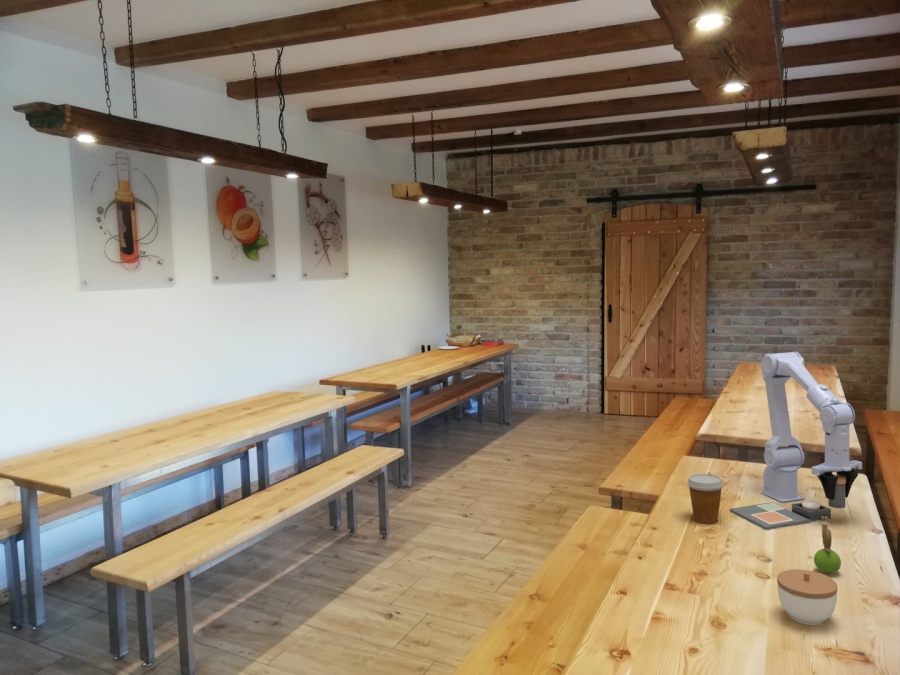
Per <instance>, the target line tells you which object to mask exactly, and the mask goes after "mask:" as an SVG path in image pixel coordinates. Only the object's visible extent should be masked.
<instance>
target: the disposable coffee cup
mask: <svg viewBox="0 0 900 675" xmlns="http://www.w3.org/2000/svg"><path fill="white" fill-rule="evenodd" d="M686 482H687V483H686V484H687V486H688V489H689V495H690V501H691V509H692V514H693V521H695V522H697V523H698V524H705V525H713V524H716V523H717V522H718V520H719V514H720V505H721V497H722V495H721V494H722V489H723V486H724V482H723V480H722V478H721V477H720V476H718V475H714V474H710V473H708V474H707V473H697V474H692V475H690V476H688V478H687V481H686Z"/></svg>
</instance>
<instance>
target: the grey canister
mask: <svg viewBox="0 0 900 675" xmlns="http://www.w3.org/2000/svg"><path fill="white" fill-rule="evenodd" d="M833 475H834V476H836V477H838V480H837V482H836V486H835V496H834V500H830V499H828V498H827V503H828V506H829V508H830V507H831V508H834V509H844V508H846V498H845V489H846V477H845V476H842V475H837V474H833Z"/></svg>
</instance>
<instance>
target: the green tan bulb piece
mask: <svg viewBox="0 0 900 675" xmlns="http://www.w3.org/2000/svg"><path fill="white" fill-rule="evenodd" d="M822 520H827V517H825V519H824V517H823V516H822ZM828 526H829V524H828V522H827V521H822V523H821V537H822V545H823V548H821V549H819V550H817V551H816V552H815V554H814V556H813V562H814V564H815V567H816V568H817V569H818V570H819V571H821V572H822V573H825V574H835V573H836V572H838V571H839V570H840V569H841V565H842V560H841V557H840V556H839V554H838V553H837V552H836V551H834V550H833V549H832V548H831V547H832V533H831V532H832V531H831V530H830V529H829V528H828Z"/></svg>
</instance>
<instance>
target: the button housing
mask: <svg viewBox="0 0 900 675" xmlns="http://www.w3.org/2000/svg"><path fill="white" fill-rule="evenodd" d="M791 511H792V512H794V513H796V514H798V515H800V516H803V517H805V518H807V519H809V520H810V522H815V521H821V520H822V521H823V520H827V519H831V517H832V514H831V511H832V510H831V508H830V507H827V506H825V505H822V504H820V509H819V510H813V511H809V510H807V509H805V508H802V502H797V503H791ZM822 516H823V517H824V519H822ZM825 517H827V519H825Z"/></svg>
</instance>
